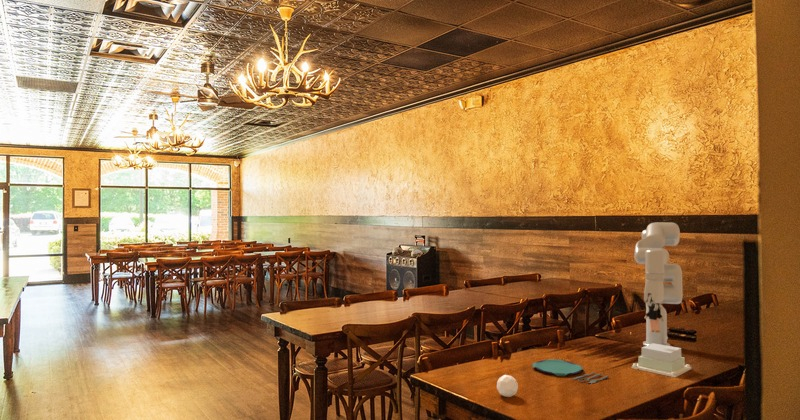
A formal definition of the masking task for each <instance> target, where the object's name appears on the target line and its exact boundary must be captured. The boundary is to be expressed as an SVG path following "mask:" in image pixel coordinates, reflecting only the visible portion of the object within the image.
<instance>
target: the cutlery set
mask: <svg viewBox="0 0 800 420" xmlns="http://www.w3.org/2000/svg"><path fill="white" fill-rule="evenodd" d="M531 367H532V369H534V368H535V369H536V370H538V371H539V372H542V373H546V374H550V375H555V376H556V377H566V376H573V375H577V374H579V373H581V372H584V371H585V370H584V368H583V367H582V365H580V364H577V363H573V362H572V361H571V362H570V361H566V360H564V359H553V358H550V359H544V360H539V361H535V362H533V363H532V366H531ZM590 375H593V376H590ZM588 376H590V377H588ZM600 376H602V373H597V374H596V372H592V373H588V374H586V373H585V374H582V375H581V376H576V377H573V378H572V380H573V381H575V380H578V382H580V383H582V381H583V379H586V380H584V383H591V384H590V385H593V384H592V383H594V384H597V382H600V380H601V381H604V380H606V378H607V379H609V378H610V377H609V375H605V376H603V377H601V378H598V379H595V378H597V377H600ZM603 379H604V380H603Z"/></svg>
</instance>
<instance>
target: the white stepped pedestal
mask: <svg viewBox="0 0 800 420" xmlns="http://www.w3.org/2000/svg"><path fill="white" fill-rule="evenodd" d="M637 358H638V359H637V363H632V365H631V369H635V370H638V369H639V371H643V372H649V373H653V374H657V375H662V376H667V377H672V378H677V377H679V376H681V375H683V374H685V373H687V372H688V371H691V370H692V366H691V364H687V363H686V362H685V357H683V356H682V348H681V347H676V346H672V345H670V346H666V345H660V344H655V343H652V344H650V345H647V346H645V345H643V347H641V355H639V356H638V357H637Z"/></svg>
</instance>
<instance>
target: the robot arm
mask: <svg viewBox="0 0 800 420" xmlns="http://www.w3.org/2000/svg"><path fill="white" fill-rule="evenodd" d="M680 231H681V230H680V227H679V225H678V224H677V223H676V222H661V221H660V222H657V221H656V222H651V223H649V224H648V225H647V227H646V229H644V230H642V232H641V235H640V236H641V239H640V240H638V241H637V242H636V244H635V246H634V253H633V255H634V256H633V257H634V260H635V262H636V264H639V265H645V266H644V267H645V274H644V278H645V283H644V284H645V285H644V289H643V291H644V293H643V301H644V303H645V310H646V311H645V315H646V314H647V313H648V312H649V317H647V319H645V320H646V323H645V329H646V330H645V334H646V335H645V339H646V340H645V341H642V344H643V346H647V345H650V344H652V343H655V344H660V345H666V346H671V344H670V343H669V342H667V341H668V339H669V337H668V326H667V325H668V320H667V319H668V318H667V317H668V314H667V309H666V308H665V307H664V306H663V304H669V305H679V304H681V303H682V301H683V270H682V268H681V265H679V264H678V263H669V261H670V253H669V252H668V250H667V249H666V248H664V247H665V246H668V247H669V246H671V247H674V246H677V245H678V244H679V243H680V240H681V239H680V237H681V235H680V233H681V232H680ZM664 283H671V284H664ZM656 304H658V310H657V311H656ZM653 305H654V306H653ZM657 312H659V313H660V314H661V315H662V317H663V320H664V321H663V322H662V321H661V319H660V317H658V318H659V331H660V332H661V333H656V330H654V332H650V319H653V320H657Z"/></svg>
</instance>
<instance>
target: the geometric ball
mask: <svg viewBox="0 0 800 420" xmlns="http://www.w3.org/2000/svg"><path fill="white" fill-rule="evenodd" d="M518 388H519V384H518V382H517V379H516V378H514V376H512V375H508V374H504V375H502V376H500V377H499V378H498V380H497V382H496V389H497V391H498V393H499V394H500V395H501V396H503V397H504V398H506V397H507V398H511V397H513V396H514V395H516V394H517V391H518V390H519V389H518Z"/></svg>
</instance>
